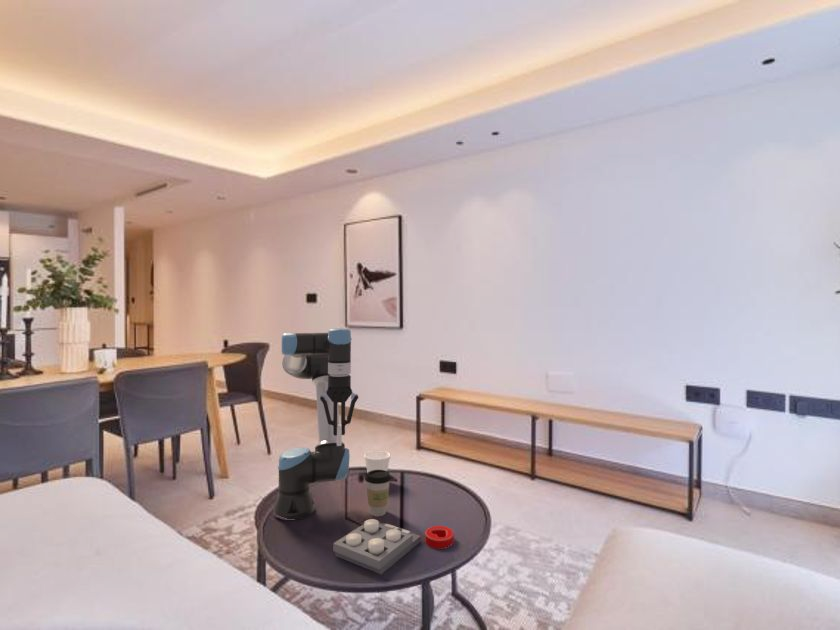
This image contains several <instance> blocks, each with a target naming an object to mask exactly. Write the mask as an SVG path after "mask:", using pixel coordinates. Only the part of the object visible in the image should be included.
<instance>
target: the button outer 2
mask: <svg viewBox="0 0 840 630" xmlns="http://www.w3.org/2000/svg"><path fill="white" fill-rule="evenodd" d="M400 539H401V532H400V531H399V530H396V529H391V530H388V531H387V532H386V540H388V541H391V542H394V543H396V542H397V541H399V540H400Z"/></svg>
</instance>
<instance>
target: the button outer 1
mask: <svg viewBox="0 0 840 630" xmlns="http://www.w3.org/2000/svg"><path fill="white" fill-rule="evenodd" d="M383 552H384V540H383V539H380V538H374V539H371V540H370V541H369V542H368V553H370V554H373V555H376V556H379V555H380V554H382V553H383Z"/></svg>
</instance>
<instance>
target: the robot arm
mask: <svg viewBox="0 0 840 630" xmlns="http://www.w3.org/2000/svg"><path fill="white" fill-rule="evenodd" d="M351 333H352V331H351V330H350V329H349V328H330V329H329V330H328V331H327V332H289V333H283V334H282V335H281V354H282V355H284V356H283V358H282V363H281V364H282V368H283V371H284V372H285V373H287V374H288V375H289V376H290V377H293V378H296V379H301V380H311V383H312V385H314V386H315V389H316V390H315V391H316V392H315V393H316V411H317V412H316V413H317V415H316V416H317V430H318V431H317V434H318V443H317V444H316V445H315V446H314V451H311V450H310V448H308V447H302V446H301V447H295V448H290V449H287V450H286V451H284V452H282V453H281V454H280V455H279V457H278V465H277V469H278V491H277V496H276V501H275V504H274V505H273V512H274V511H275V513H276V514H277V515H279V516H281V517H284V518H287V519H299V520H302V519H301V518H303V519H306V518H308V517H310V516H311V515H312V514H314V512H315V507H316V505H315V501H314V498H313V495H312V492H311V485H312V484H320V483H329V482H337V481H343V480H345V479H346V478H347V476H348V473H349V469H350V468H349V467H350V449H349V448H346V447H345V442H343V440H342V439H343V438H342V436H345V434H346V425H350V424H351V421H352V418H353V414H354V410H355V405H356V402H357V401H358V399H359V394H357V393H354V392H353V389H352V387H351V385H352V384H351V381H352V380H351V379H352V378H351V377H352V376H351V375H350V374H351V372H352V369H351V368H352V365H351V362H352V361H351V360H352V359H351V358H352V357H351V356H352V354H351V352H352V351H351V350H352V335H351ZM349 398H350V399H351V401H350V405H349V408H348V412H347V416H346V402H347V401H348V400H349ZM339 403H340V409H341V410H340V415H339Z"/></svg>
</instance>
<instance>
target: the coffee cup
mask: <svg viewBox="0 0 840 630" xmlns="http://www.w3.org/2000/svg"><path fill="white" fill-rule="evenodd" d="M364 479H365V482H366V494H367V503H368V510H369V511H368V512H369V514H370V515H371V516H373V517H382V516H384V515H386V514H387V505H388V502H389V493H390V481H391V479H392V477H391V475H390V472H389V471H388V470H387V471H385V470H372V471H369V472H367V473H366V476H365V478H364Z"/></svg>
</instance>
